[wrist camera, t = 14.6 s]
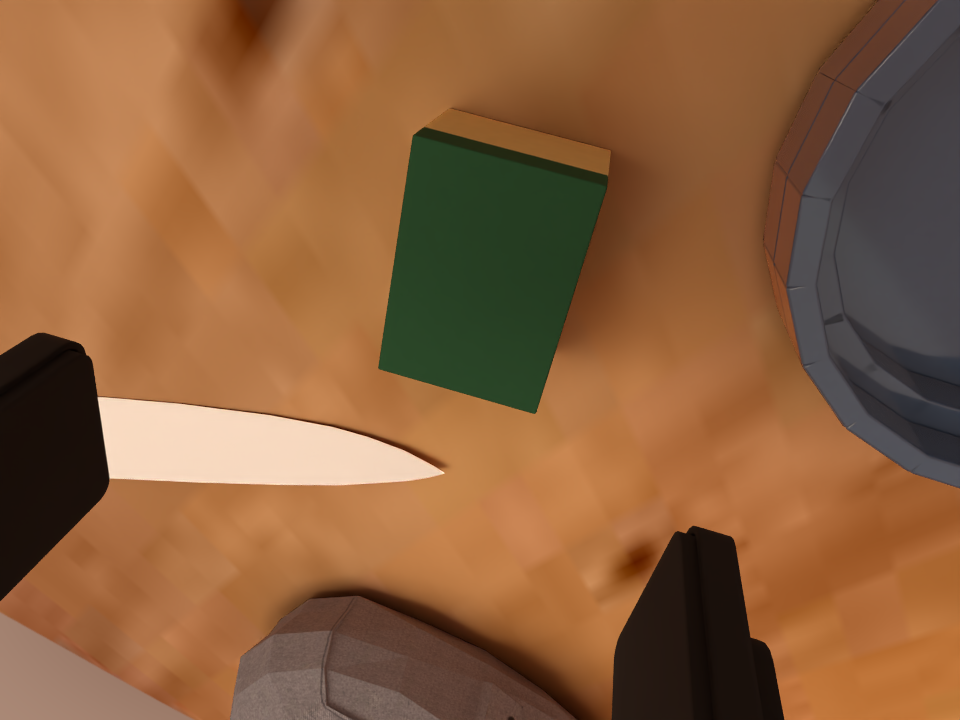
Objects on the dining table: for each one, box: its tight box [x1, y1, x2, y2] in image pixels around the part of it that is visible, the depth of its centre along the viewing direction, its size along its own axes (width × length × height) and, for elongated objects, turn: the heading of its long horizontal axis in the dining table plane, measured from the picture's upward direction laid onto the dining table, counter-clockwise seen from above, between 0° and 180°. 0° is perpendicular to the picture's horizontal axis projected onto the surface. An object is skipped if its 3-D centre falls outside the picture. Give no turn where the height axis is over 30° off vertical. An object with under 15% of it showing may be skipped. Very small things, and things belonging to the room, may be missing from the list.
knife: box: [98, 397, 445, 485], centre depth 33 cm, size 1×33×5 cm
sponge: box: [378, 108, 611, 414], centre depth 22 cm, size 8×6×4 cm
